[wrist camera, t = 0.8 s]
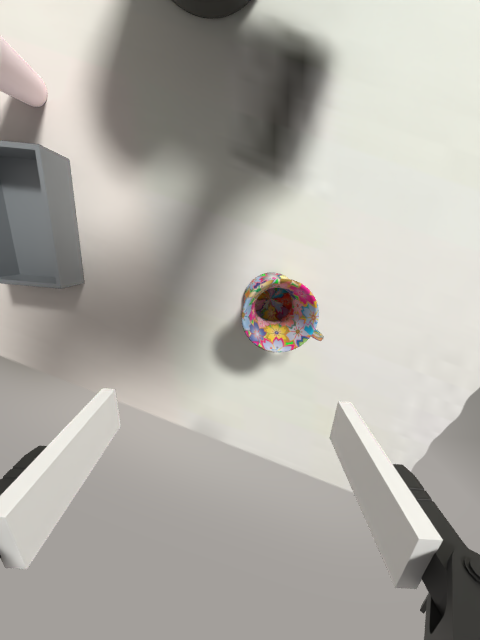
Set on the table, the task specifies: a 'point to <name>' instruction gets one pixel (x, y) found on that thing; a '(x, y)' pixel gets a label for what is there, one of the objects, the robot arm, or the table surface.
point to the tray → (37, 218)
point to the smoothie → (20, 77)
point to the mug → (279, 313)
